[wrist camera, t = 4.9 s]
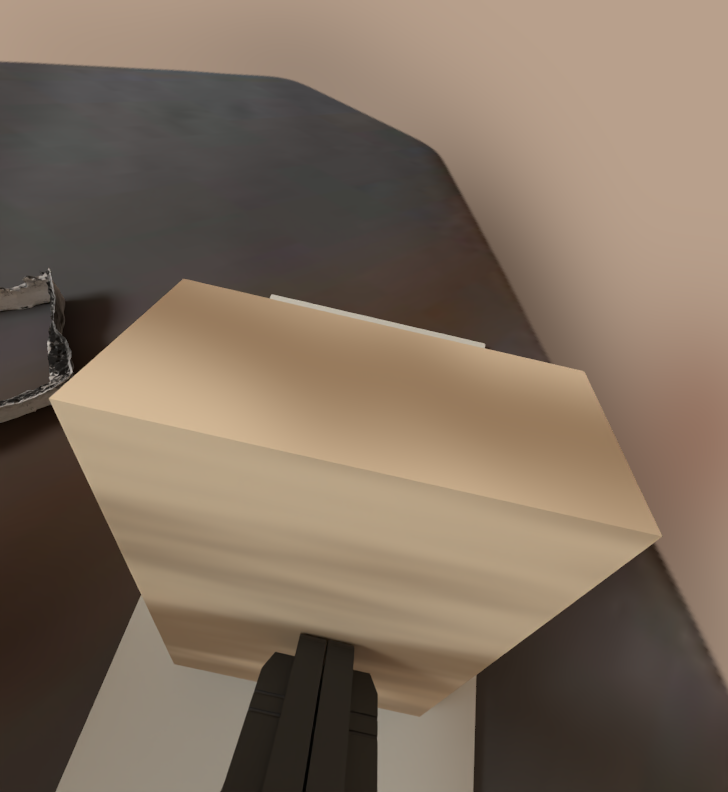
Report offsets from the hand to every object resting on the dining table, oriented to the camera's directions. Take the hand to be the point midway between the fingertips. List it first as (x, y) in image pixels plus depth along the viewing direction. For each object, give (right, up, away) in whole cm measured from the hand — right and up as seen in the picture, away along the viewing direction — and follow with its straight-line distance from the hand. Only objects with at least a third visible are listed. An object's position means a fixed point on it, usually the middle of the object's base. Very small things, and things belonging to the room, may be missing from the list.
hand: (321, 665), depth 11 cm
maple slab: (-1, -2, +5) cm, 6 cm away
